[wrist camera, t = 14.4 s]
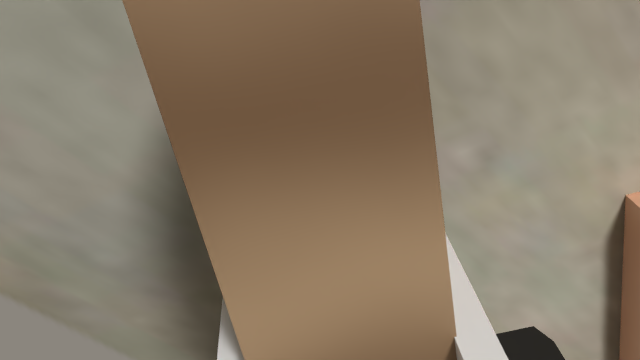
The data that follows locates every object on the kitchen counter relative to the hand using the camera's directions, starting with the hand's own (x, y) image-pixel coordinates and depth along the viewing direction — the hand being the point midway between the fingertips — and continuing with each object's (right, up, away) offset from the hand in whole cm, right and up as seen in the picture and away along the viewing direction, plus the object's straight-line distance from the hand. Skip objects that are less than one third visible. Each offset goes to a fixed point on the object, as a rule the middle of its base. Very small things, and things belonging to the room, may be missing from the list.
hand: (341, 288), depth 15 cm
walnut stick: (0, 0, +1) cm, 1 cm away
